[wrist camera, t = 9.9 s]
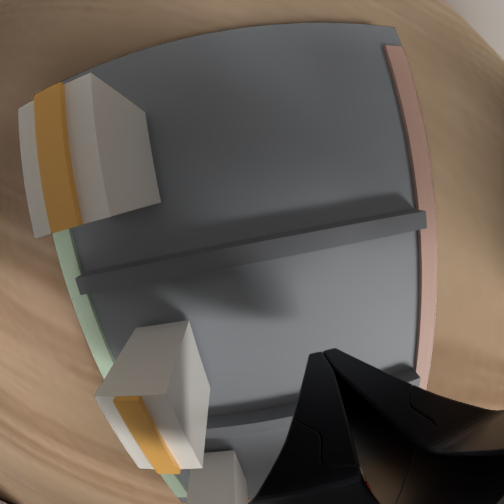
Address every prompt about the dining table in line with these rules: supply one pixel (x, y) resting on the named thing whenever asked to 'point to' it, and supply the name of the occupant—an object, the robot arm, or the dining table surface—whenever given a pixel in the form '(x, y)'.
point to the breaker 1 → (84, 155)
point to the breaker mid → (159, 398)
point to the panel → (268, 220)
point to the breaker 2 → (218, 480)
